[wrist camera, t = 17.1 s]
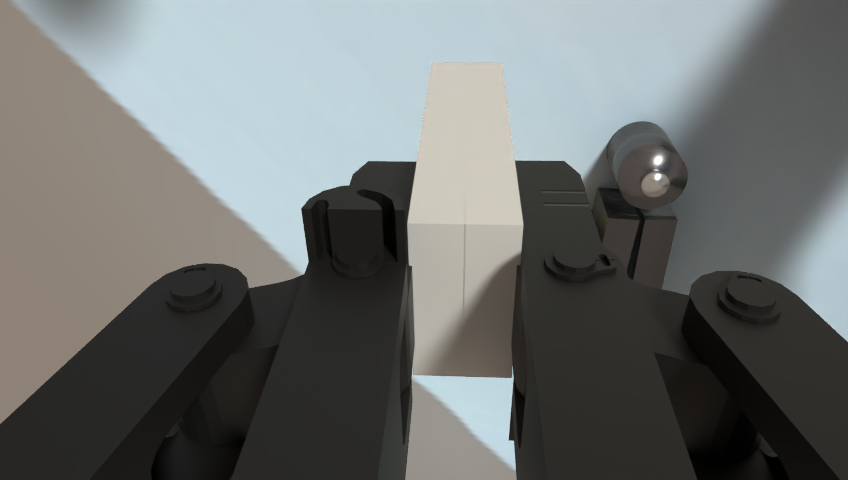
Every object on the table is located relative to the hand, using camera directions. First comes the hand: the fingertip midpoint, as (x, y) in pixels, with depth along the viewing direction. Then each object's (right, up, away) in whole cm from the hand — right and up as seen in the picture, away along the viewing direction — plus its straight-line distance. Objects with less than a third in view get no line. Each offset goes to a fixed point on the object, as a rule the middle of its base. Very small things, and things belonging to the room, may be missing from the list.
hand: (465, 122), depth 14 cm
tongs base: (+13, -5, +34) cm, 37 cm away
